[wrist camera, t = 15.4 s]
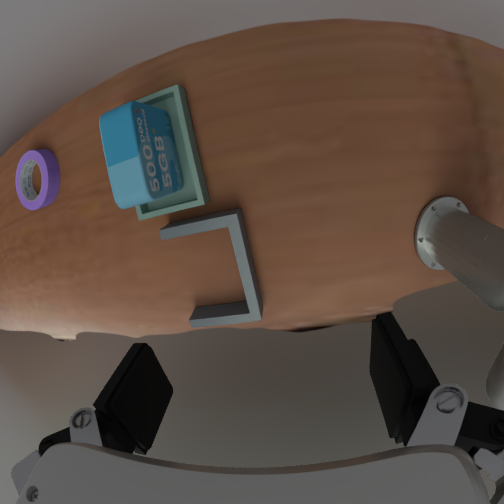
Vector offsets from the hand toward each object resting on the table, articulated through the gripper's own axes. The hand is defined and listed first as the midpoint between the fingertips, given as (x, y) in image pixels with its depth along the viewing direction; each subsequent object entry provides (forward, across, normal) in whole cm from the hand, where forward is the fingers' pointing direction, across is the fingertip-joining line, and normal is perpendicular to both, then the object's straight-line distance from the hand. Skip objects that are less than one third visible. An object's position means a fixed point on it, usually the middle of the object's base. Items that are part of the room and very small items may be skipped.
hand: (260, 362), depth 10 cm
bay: (+30, +10, +7) cm, 33 cm away
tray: (+30, +14, -12) cm, 35 cm away
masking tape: (+31, +42, -17) cm, 55 cm away
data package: (+30, +14, -12) cm, 35 cm away
